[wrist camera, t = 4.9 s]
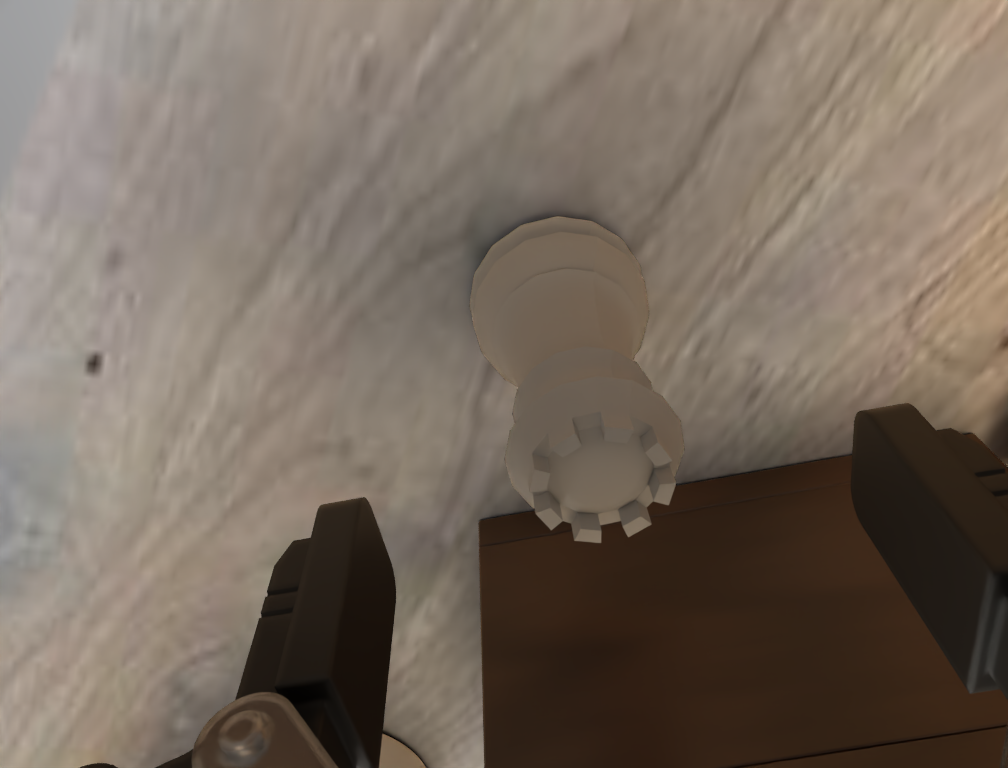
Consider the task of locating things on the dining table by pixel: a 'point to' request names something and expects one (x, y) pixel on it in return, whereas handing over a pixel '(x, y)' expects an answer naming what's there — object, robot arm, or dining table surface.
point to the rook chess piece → (576, 375)
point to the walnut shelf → (719, 640)
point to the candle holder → (397, 755)
